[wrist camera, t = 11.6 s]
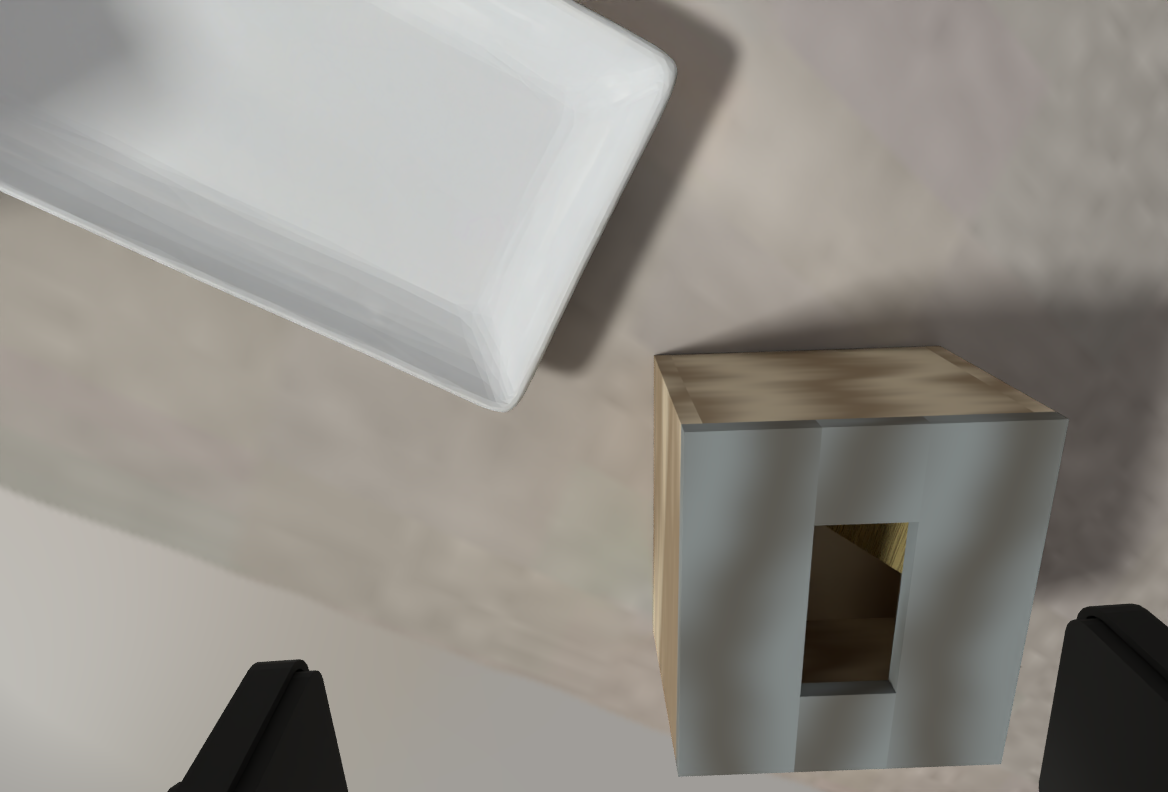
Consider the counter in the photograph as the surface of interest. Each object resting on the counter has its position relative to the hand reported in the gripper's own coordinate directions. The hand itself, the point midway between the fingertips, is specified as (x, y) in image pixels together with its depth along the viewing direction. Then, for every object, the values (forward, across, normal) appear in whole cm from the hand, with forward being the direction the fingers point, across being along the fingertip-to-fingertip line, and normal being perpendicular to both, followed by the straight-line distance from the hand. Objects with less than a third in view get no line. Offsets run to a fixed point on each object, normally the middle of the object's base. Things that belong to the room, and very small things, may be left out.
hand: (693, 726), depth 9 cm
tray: (+28, +14, -10) cm, 33 cm away
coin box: (+28, -9, +12) cm, 31 cm away
